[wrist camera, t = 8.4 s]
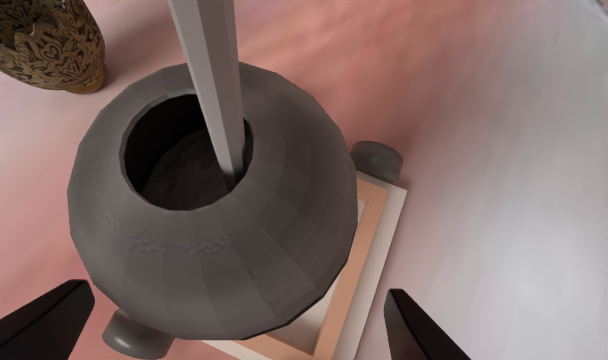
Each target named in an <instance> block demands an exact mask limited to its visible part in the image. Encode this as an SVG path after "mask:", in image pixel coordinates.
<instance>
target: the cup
mask: <svg viewBox="0 0 608 360" xmlns="http://www.w3.org/2000/svg"><path fill="white" fill-rule="evenodd" d="M104 59H105V44H104V40H103V36H102V34H101V31H100V29H99V27H98V25H97V23H96V21H95V19H94V18H93V16H92V14H91V13H90V11H89V9H88V8H87V6H86V4H85V3H84V1H83V0H0V71H1V72H3V73H5V74H7V75H9V76H11V77H13V78H15V79H17V80H19V81H21V82H24V83H26V84H29V85H31V86H34V87H38V88H42V89H47V90H65V91H67V92H70V93H73V94H78V95H86V94H90V93H93V92H95V91H97V90H98V89H100V88H101V87H102V86H103V85H104V83H105V82H106V79H107V68H106V65H105V63H104Z"/></svg>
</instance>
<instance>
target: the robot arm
mask: <svg viewBox="0 0 608 360" xmlns="http://www.w3.org/2000/svg"><path fill="white" fill-rule="evenodd" d="M94 304H95V298H94V295H93V292H92V290H91V287H90V285H89V282H88V281H87V280H84V279H71V280H68V281H66V282H65V283H63V284H61V285H59V286H58V287H56V288H54V289H52V290H51V291H49V292H47V293H45V294H44V295H42V296H40V297H38V298H37V299H35V300H33V301H31V302H30V303H28V304H26V305H24V306H23V307H21V308H19V309H17V310H16V311H14V312H12V313H10V314H9V315H7V316H5V317H3V318H2V319H0V360H68V358H69V356H70V354H71V352H72V350H73V348H74V346H75V344H76V342H77V340H78V338H79V336H80V334H81V332H82V330H83V328H84V326H85V324H86V322H87V320H88V318H89V316H90V314H91V312H92V310H93V307H94ZM384 318H385V324H386V329H387V335H388V341H389V347H390V353H391V358H392V360H471V359H470V358H469V357H468V356H467V355H466V354H465V352H464V351H463V350H462V349H461V348H460V347H459V346H458V345H457V344H456V343H455V342H454V341H453V340H452V339H451V338H450V337H449V336H448V335H447V334H446V333H445V332H444V331H443V330H442V329H441V328H440V327H439V326H438V325H437V324H436V323H435V322H434V321H433V320H432V318H431V317H430V316H429V315H428V314H427V313H426V312H425V311H424V310H423V309H422V308H421V307H420V306H419V305H418V304H417V303H416V302H415V301H414V300H413V299H412V298H411V297H410V296H409V295H408V294H407V293H406V292H405V291H404V290H403V289H392V288H391V289H389V290H388V293H387V297H386V301H385V305H384Z"/></svg>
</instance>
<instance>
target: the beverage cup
mask: <svg viewBox="0 0 608 360" xmlns="http://www.w3.org/2000/svg"><path fill="white" fill-rule="evenodd" d="M167 2H168V5H169V8H170V11H171V15H172V18H173V21H174V24H175V27H176V30H177V33H178V37H179V40H180V43H181V46H182V49H183V52H184V55H185V58H186V62H187V63H184V64H179V65H175V66H170V67H166V68H162V69H160V70H158V71H156V72H154V73H152V74H150V75H149V76H147V77H145V78H143V79H141V80H139V81H137V82H135V83H133V84H131V85H129V86H128V87H127V88H126V89H125V90H123V91H122V92H121V93H120V94H119V95H118V96H117V97H116V98H114V99H113V100H112V101H111V102H110V103H109V104H108V105H107V106H106V107H104V108H103V109H102V110H101V111H100V112H99V114H98V116H97V117H96V119H95V120H94V122H93V123H92V125H91V127H90V128H89V130H88V131H87V133H86V134H85V136H84V138H83V139H82V141H81V142H80V144H79V147H78V151H77V155H76V158H75V162H74V166H73V170H72V174H71V177H70V181H69V185H68V189H67V198H68V210H69V223H70V234H71V237H72V240H73V242H74V244H75V247H76V249H77V251H78V253H79V255H80V257H81V259H82V261H83V263H84V265H85V267H86V269H87V271H88V273H89V275H90V278H91V280H92V282H93V284H94V285H95V286H96V287H97V288H98V289H99V290H101V291H102V292H103V293H104V294H105V295H106V296H107V297H108V298H109V299H110V300H112V301H113V302H114V303H115V304H116V305H117V306H118V307H119V308H120V309H121V310H123V311H124V312H125V313H126V314H127V315H128V316H129V317H131V318H132V319H133V320H134V321H136V322H138V323H140V324H143V325H146V326H148V327H151V328H154V329H156V330H159V331H161V332H164V333H167V334H169V335H172V336H175V337H177V338H180V339H184V340H248V339H251V338H254V337H257V336H260V335H262V334H265V333H268V332H271V331H274V330H277V329H280V328H282V327H285V326H288V325H290V324H291V323H292V322H293V321H295V320H296V319H297V318H299V317H300V316H301V315H302V314H304V313H305V312H306V311H307V310H309V309H310V308H311V307H313V306H314V305H315V304H316V303H318V302H319V301H320V300H321V299H323V298H324V296H325V295H326V293H327V292H328V290H329V289H330V287H331V286H332V284H333V283H334V281H335V280H336V278H337V277H338V275H339V274H340V272H341V271H342V269H343V268H344V266H345V265H346V263H347V261H348V258H349V254H350V250H351V247H352V243H353V240H354V236H355V232H356V229H357V225H358V199H357V178H356V169H355V166H354V163H353V161H352V158H351V156H350V153H349V151H348V148H347V145H346V143H345V140H344V138H343V135H342V133H341V131H340V129H339V128H338V126H337V125H336V124H335V123H334V121H333V120H332V119H331V118H330V117H329V115H328V114H327V113H326V112H325V110H324V109H323V108H322V107H321V106H320V104H319V103H318V102H317V101H316V99H315V98H313V97H312V96H311V95H309V94H308V93H306V92H305V91H303V90H302V89H300V88H299V87H297V86H296V85H294V84H293V83H291V82H290V81H288V80H287V79H285V78H284V77H282V76H281V75H279V74H278V73H275V72H272V71H269V70H265V69H262V68H259V67H256V66H252V65H249V64H246V63H243V62H238V51H237V39H236V27H235V16H234V4H233V0H167Z"/></svg>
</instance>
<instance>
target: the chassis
mask: <svg viewBox="0 0 608 360" xmlns="http://www.w3.org/2000/svg"><path fill="white" fill-rule="evenodd" d="M350 156H351V158H352V161H353V163H354V166H355V169H356V178H357V199H358V225H357V229H356V232H355V236H354V240H353V243H352V247H351V250H350V254H349V258H348V261H347V263H346V265H345V266H344V268H343V269H342V271H341V272H340V274H339V275H338V277H337V278H336V280H335V281H334V283H333V284H332V286H331V287H330V289H329V290H328V292H327V293H326V295H325V296H324V298H323V299H321V300H320V301H319V302H318V303H316V304H315V305H314V306H313V307H311V308H310V309H309V310H307V311H306V312H305V313H304V314H302V315H301V316H300V317H299V318H297V319H296V320H295V321H293V322H292V323H291V324H290V325H288V326H285V327H282V328H280V329H277V330H274V331H271V332H268V333H265V334H262V335H260V336H257V337H254V338H251V339H248V340H200V341H202V342H204V343H207V344H209V345H211V346H213V347H215V348H217V349H219V350H221V351H223V352H225V353H228V354H230V355H232V356H234V357H236V358H238V359H240V360H354V357H355V354H356V351H357V348H358V345H359V341H360V338H361V335H362V332H363V329H364V326H365V323H366V319H367V316H368V313H369V310H370V307H371V304H372V301H373V297H374V294H375V291H376V288H377V285H378V282H379V279H380V275H381V272H382V269H383V266H384V263H385V260H386V257H387V253H388V250H389V247H390V244H391V241H392V238H393V235H394V232H395V228H396V225H397V222H398V219H399V216H400V213H401V210H402V206H403V203H404V200H405V197H406V194H407V190H404V189H402V188H399V187H397V186H394V185H392V184H389V183H391V182H394V181H396V180H397V179H398V176H399V173H400V170H401V167H402V164H403V159H402V157H401V155H400V154H399V153H398V152H397V151H395V150H394V149H392V148H390V147H388V146H386V145H384V144H381V143H377V142H372V141H361V142H358V143H356V144H354V146H353V148H352V150H351V153H350ZM174 338H175V336H172V335H169V334H167V333H164V332H161V331H159V330H156V329H154V328H151V327H148V326H146V325H143V324H140V323H138V322H136V321H134V320H133V319H132V318H131V317H129V316H128V315H127V314H126V313H125V312H124V311H123V310H121V309H118V310H116V311H115V313H114V315H113V316H112V318H111V320H110V322H109V323H108V325H107V327H106V329H105V330H104V332H103V334H102V339H103V341H104V342H105V343H106V344H107V345H108V346H109V347H111V348H112V349H114V350H116V351H118V352H120V353H122V354H125V355H128V356H131V357H135V358H139V359H147V360H155V359H161V358H163V357H165V356H166V354H167V352H168V350H169V348H170V346H171V344H172V342H173V340H174Z"/></svg>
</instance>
